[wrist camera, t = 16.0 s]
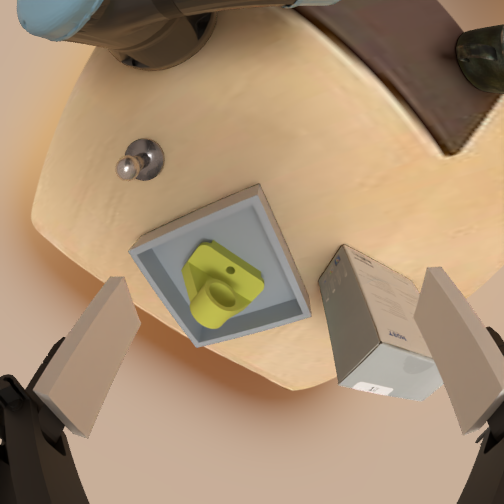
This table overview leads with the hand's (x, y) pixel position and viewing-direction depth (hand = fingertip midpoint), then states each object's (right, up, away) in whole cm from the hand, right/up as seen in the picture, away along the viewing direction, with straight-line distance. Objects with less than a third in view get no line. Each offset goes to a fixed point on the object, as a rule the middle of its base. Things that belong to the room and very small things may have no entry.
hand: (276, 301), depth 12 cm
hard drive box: (+18, -3, +33) cm, 38 cm away
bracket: (-5, -1, +33) cm, 33 cm away
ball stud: (-16, +15, +26) cm, 34 cm away
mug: (+31, +30, +14) cm, 46 cm away
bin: (-5, 0, +33) cm, 34 cm away
